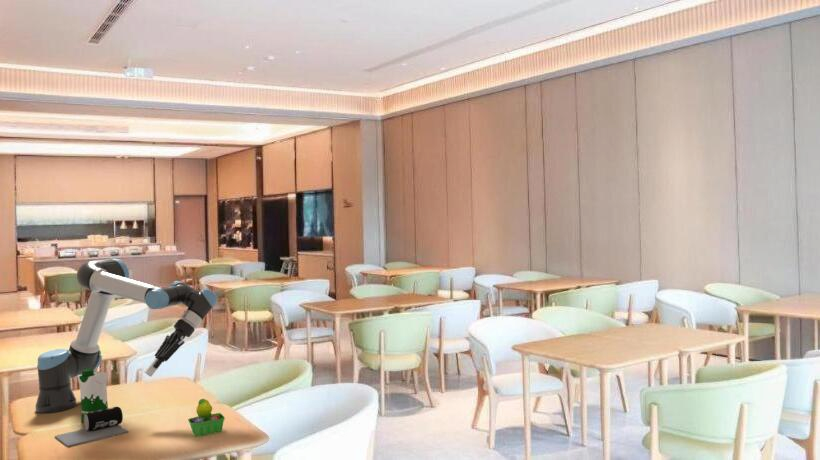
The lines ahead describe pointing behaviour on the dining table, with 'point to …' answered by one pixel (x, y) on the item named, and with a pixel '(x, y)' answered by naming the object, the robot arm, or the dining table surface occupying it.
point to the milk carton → (92, 391)
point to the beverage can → (103, 418)
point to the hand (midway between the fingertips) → (147, 374)
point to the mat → (89, 435)
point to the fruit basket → (206, 420)
